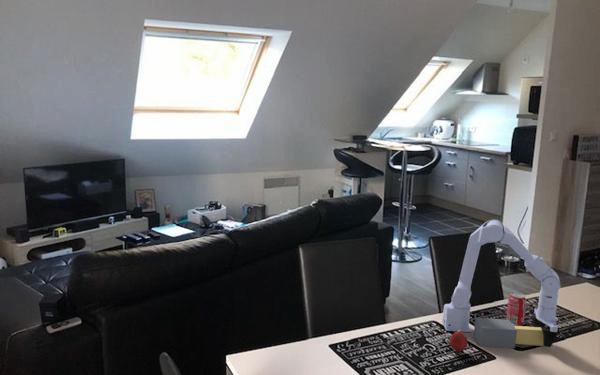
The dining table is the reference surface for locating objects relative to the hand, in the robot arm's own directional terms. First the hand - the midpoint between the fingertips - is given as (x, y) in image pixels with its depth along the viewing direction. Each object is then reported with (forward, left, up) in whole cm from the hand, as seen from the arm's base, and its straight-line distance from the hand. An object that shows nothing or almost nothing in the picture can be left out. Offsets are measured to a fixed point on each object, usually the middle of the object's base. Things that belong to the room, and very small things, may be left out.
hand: (542, 341), depth 171 cm
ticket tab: (-6, 0, -1) cm, 6 cm away
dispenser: (-17, 0, -1) cm, 17 cm away
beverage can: (-4, +16, -2) cm, 17 cm away
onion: (-32, -9, -2) cm, 33 cm away
